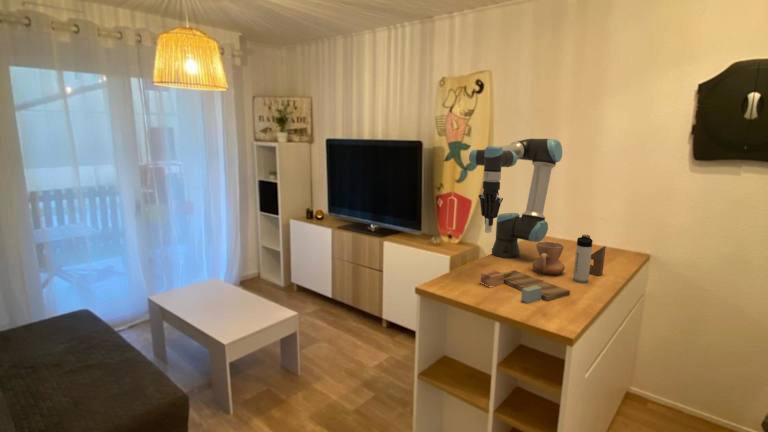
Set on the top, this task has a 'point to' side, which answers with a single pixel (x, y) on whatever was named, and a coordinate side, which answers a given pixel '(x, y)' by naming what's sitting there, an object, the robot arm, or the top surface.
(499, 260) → the top surface
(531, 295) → the block
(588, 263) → the travel mug
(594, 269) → the wooden block
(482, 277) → the brown wooden handled block
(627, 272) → the top surface
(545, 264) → the ceramic jug
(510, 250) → the robot arm
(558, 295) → the board
